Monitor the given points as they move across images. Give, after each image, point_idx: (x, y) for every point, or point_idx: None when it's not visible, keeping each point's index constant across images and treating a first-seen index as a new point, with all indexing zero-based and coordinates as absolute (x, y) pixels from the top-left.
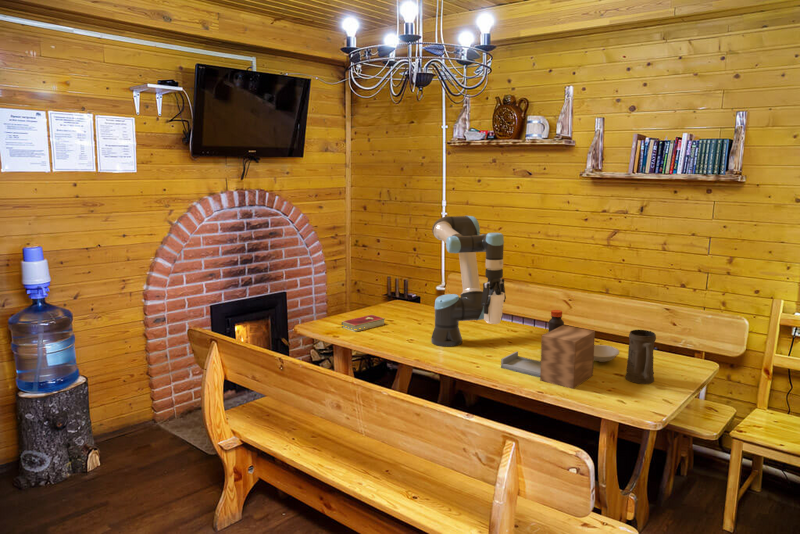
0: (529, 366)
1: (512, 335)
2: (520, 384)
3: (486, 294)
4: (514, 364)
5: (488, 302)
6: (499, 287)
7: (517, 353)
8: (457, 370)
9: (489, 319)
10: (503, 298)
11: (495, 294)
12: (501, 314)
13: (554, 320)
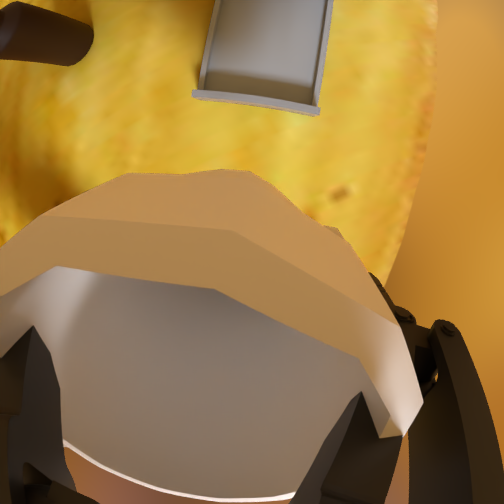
0: (268, 27)
1: (20, 228)
2: (415, 34)
3: (487, 448)
4: (276, 76)
5: (412, 347)
6: (1, 488)
7: (198, 90)
8: (394, 238)
9: (337, 233)
10: (159, 181)
11: (64, 388)
12: (212, 170)
13: (7, 19)
